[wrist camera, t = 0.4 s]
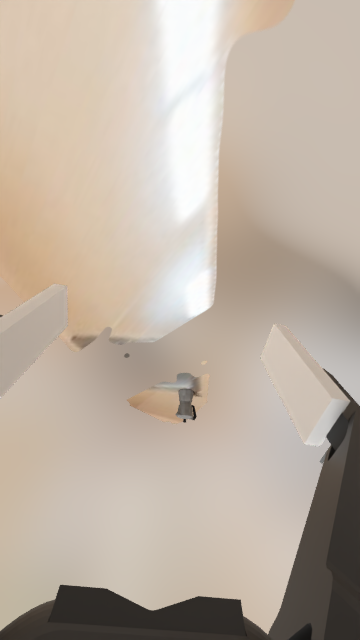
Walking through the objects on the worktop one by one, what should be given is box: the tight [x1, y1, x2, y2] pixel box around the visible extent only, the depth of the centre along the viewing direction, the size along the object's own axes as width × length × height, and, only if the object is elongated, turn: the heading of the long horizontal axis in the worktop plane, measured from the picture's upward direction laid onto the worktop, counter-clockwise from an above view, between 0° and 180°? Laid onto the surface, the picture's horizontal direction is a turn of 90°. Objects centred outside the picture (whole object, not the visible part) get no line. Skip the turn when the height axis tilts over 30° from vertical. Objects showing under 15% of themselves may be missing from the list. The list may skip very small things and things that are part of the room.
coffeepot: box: [176, 389, 196, 422], centre depth 143 cm, size 15×9×18 cm, turn 50°
